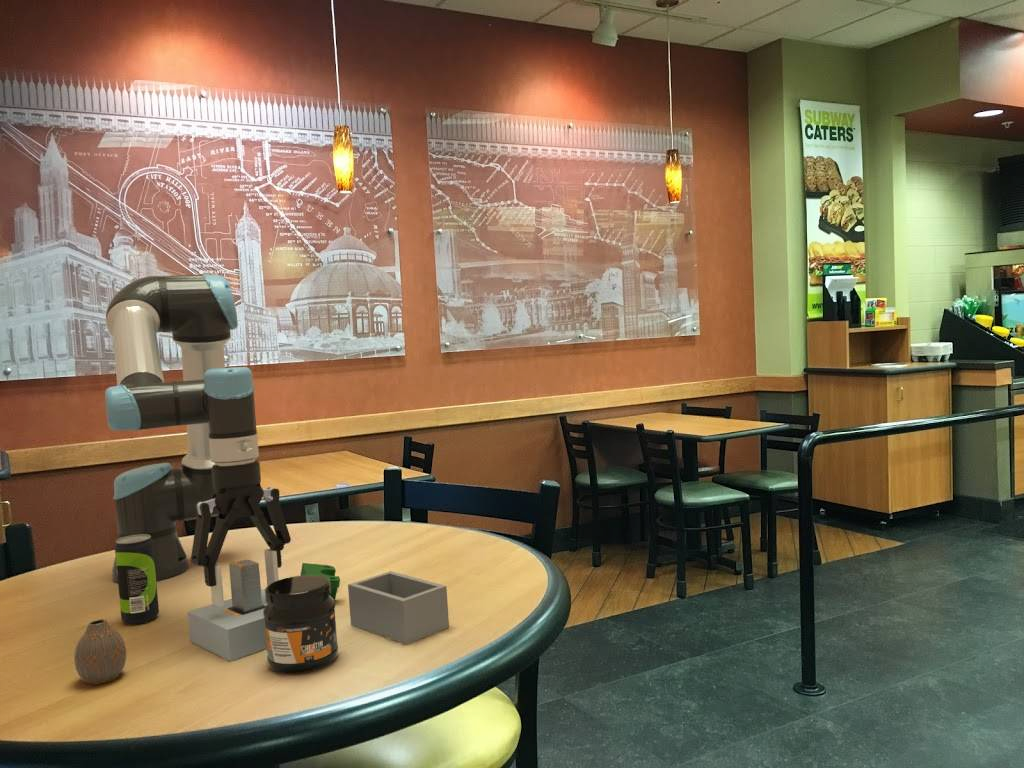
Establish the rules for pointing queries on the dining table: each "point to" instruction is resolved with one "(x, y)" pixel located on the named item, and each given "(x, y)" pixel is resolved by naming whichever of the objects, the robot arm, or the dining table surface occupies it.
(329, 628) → the supplement container
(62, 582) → the dining table surface
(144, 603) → the beverage can
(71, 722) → the dining table surface
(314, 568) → the green mounting bracket
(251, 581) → the brushed metal block
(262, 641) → the plate
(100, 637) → the vase
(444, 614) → the gray hollow rectangular box
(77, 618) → the dining table surface
